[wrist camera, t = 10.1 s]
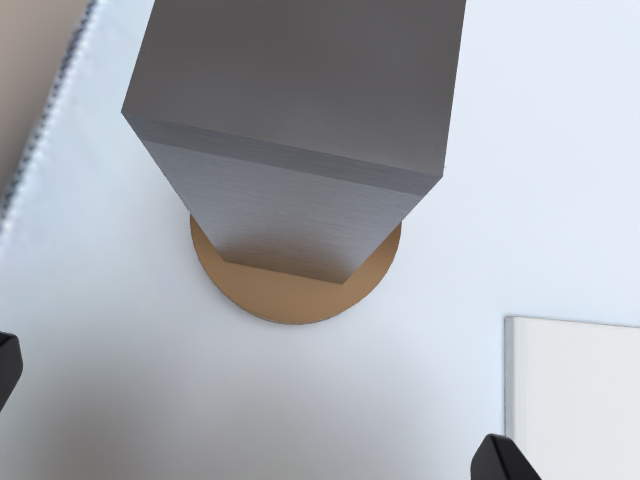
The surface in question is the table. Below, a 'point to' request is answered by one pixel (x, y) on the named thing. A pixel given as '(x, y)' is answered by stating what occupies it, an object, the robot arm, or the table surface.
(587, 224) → the table surface
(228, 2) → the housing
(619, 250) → the table surface
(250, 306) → the stand
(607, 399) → the external hard drive
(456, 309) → the table surface
